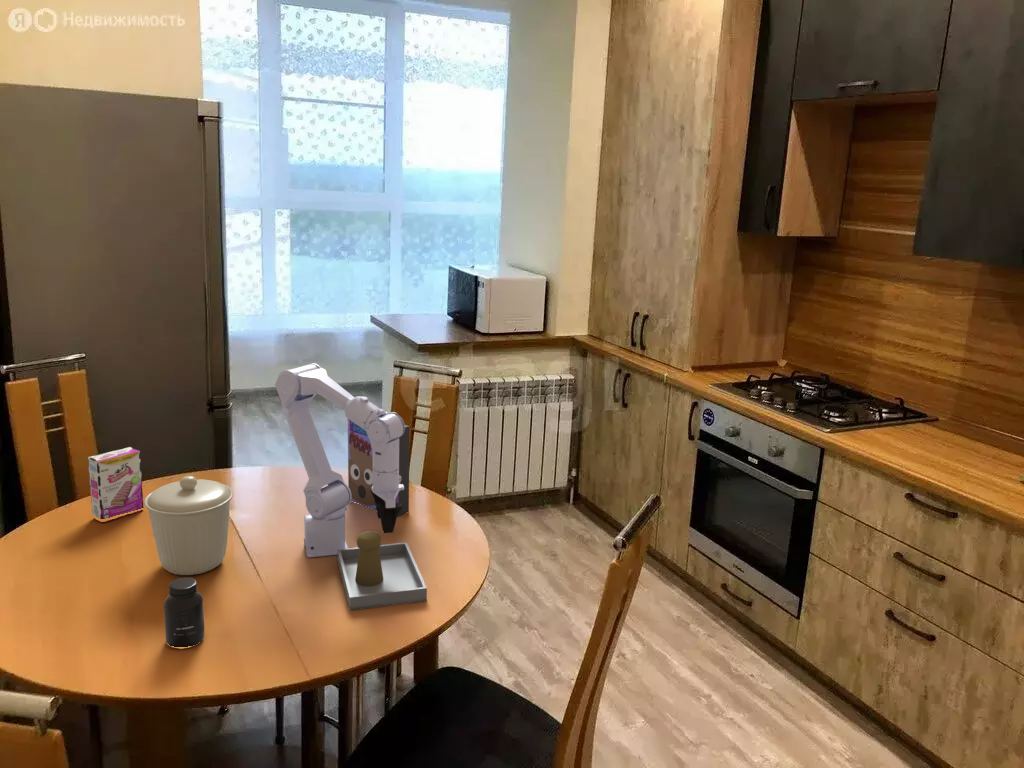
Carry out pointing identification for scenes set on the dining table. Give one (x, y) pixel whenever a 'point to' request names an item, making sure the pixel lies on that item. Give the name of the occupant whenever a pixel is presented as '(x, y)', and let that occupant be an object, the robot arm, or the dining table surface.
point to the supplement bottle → (184, 613)
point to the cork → (369, 559)
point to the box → (397, 583)
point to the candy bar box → (115, 482)
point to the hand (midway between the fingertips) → (385, 525)
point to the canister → (190, 524)
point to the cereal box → (363, 467)
